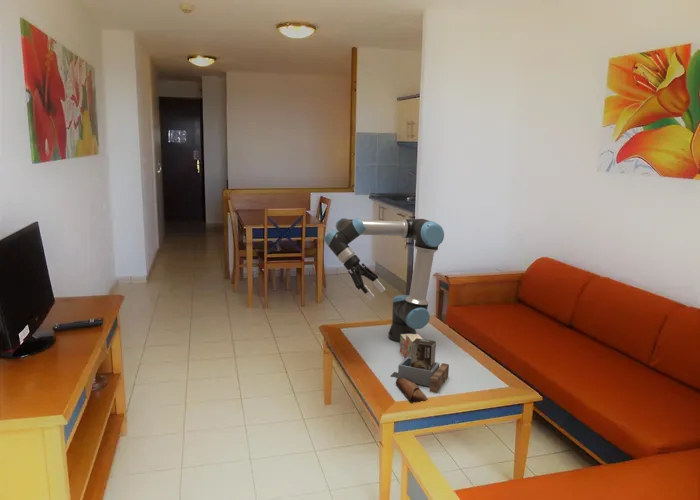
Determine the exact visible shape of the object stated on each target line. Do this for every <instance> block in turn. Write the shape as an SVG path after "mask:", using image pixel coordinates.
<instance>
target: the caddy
mask: <svg viewBox="0 0 700 500" xmlns="http://www.w3.org/2000/svg"><path fill="white" fill-rule="evenodd" d="M440 365H441V364H440V362H436V361H435V366H434V367H433V368H432V370H431V371H430V370H425V369H420V368H415V367H411V358H410V357H406V358H404V359H403V360H402V361H401V362H400V363H399V364H398V367H397V368H398V371H397V373H398V378H404V379H406V380H408V381H410V382H414V383H415V384H416V385H421V386H425V387H429V388H430V378H431V376H432V375H433V374H434V373H435V372H436V370H437V369H438V368H439V367H440ZM398 378H397V379H398Z"/></svg>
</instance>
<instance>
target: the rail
mask: <svg viewBox="0 0 700 500" xmlns="http://www.w3.org/2000/svg"><path fill="white" fill-rule="evenodd" d="M390 377H391V378H396V379H398V371H394V372H393V373H392V374H391V375H390Z"/></svg>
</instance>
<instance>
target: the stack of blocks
mask: <svg viewBox="0 0 700 500" xmlns="http://www.w3.org/2000/svg"><path fill="white" fill-rule="evenodd" d="M416 338H418V339H424V338H423V337H422V336H420V334H419V333H417V334H400V342H399V345H400V346H399V352H400V353H401V355H402V356H403V358H404V359H405V358H406V357H410V358H411V355H412V342H413V341H414V340H415V339H416Z"/></svg>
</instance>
